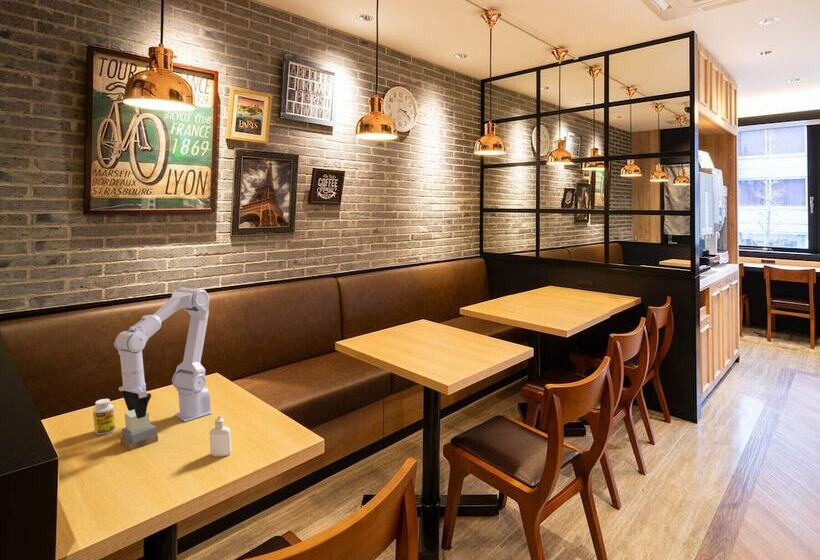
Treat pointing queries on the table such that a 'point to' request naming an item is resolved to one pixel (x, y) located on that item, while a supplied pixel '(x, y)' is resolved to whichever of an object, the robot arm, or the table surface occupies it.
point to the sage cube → (136, 421)
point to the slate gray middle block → (139, 434)
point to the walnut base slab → (138, 444)
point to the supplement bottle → (103, 417)
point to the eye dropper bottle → (220, 439)
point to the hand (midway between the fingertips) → (136, 413)
